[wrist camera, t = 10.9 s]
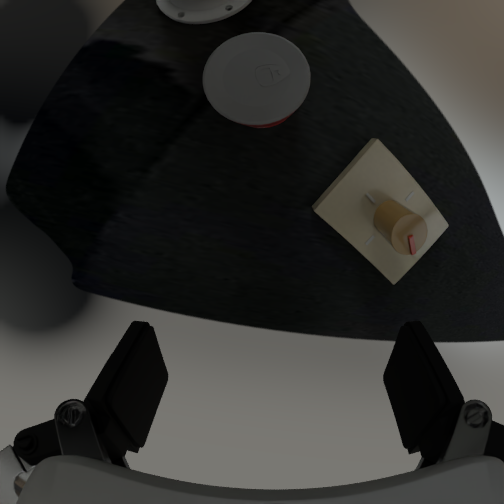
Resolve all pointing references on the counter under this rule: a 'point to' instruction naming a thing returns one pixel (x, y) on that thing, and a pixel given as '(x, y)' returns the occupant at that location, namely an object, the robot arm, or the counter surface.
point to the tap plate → (367, 201)
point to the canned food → (256, 79)
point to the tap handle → (400, 227)
